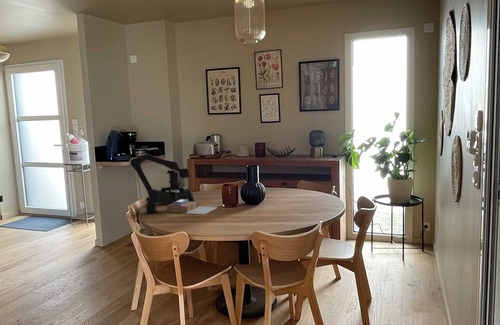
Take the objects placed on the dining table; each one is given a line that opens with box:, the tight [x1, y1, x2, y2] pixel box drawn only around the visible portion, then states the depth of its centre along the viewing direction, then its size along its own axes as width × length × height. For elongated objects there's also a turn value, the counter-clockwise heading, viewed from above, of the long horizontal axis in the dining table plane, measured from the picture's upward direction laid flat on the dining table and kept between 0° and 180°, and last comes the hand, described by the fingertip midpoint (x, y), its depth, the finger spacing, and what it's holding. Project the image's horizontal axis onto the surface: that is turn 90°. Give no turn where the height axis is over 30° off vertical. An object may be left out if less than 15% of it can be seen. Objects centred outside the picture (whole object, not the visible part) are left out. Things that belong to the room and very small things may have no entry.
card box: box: [173, 199, 188, 205], centre depth 275 cm, size 9×6×2 cm, turn 157°
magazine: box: [156, 188, 196, 205], centre depth 294 cm, size 17×3×30 cm
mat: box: [186, 206, 218, 215], centre depth 269 cm, size 18×14×1 cm
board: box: [166, 201, 199, 214], centre depth 275 cm, size 14×16×4 cm
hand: (175, 201), depth 277 cm, fingers closed
